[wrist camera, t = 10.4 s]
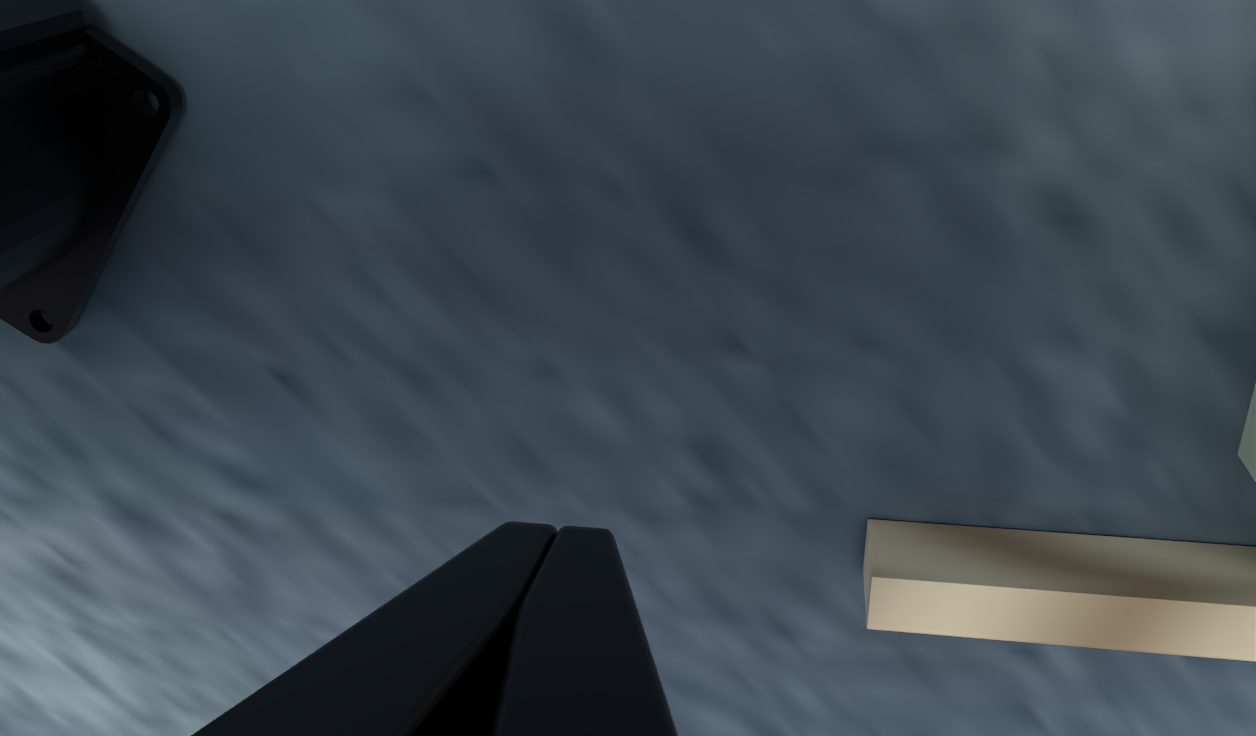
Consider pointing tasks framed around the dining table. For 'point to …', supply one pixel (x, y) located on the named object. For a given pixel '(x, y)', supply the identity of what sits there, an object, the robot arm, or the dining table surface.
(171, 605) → the dining table surface
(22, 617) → the dining table surface
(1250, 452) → the sage block
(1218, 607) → the guide chute
